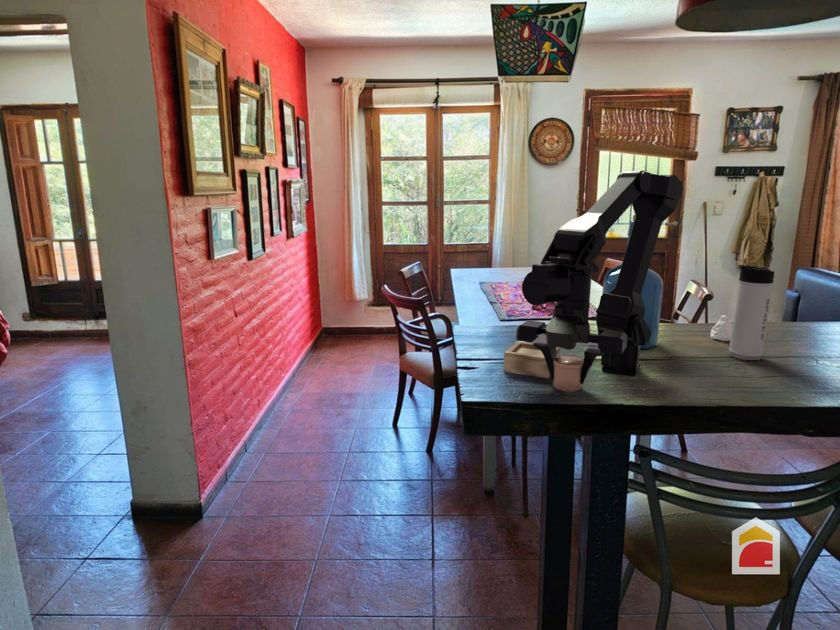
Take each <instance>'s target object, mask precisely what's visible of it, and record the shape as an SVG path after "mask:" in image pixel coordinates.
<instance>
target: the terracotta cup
mask: <svg viewBox="0 0 840 630" xmlns="http://www.w3.org/2000/svg"><path fill="white" fill-rule="evenodd" d="M583 362H584V359H582V358H579V357H574V356H565V355H564V356H562V355H561V356H559V357H556V358H554V362H553V363H554V379H552V382H553V385H552V386H553V388H554V389H555V390H559V391H562V392H568V393H569V392H570V393H571V392H572V393H573V392H578V391H580V390H582V384H581V373H582V368H583Z"/></svg>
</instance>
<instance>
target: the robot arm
mask: <svg viewBox="0 0 840 630" xmlns="http://www.w3.org/2000/svg"><path fill="white" fill-rule="evenodd" d="M683 192H684V185H683V182H682V181H681V180H680V178H679V176H677V175H676V174H655V173H651V172H648V171H645V170H625V171H623V172H620V173H619V174H618V175H617V177H616V180H615V181H614V182H613V184H612V185H611V186H610V187H609V188H608V189H607V190H606V191H605V192H604V193H603V194H602V195H601V196H600V197H599V199H598V200H597V201H596V202H595V203H594V204H593V205H592V206H591V207H590V208H589V209H588V210H587V212H585V213H584V214H582V215H581V216H579V217H576V218H573V219H570V220H569V221H568V222H566V223H564V225H562V226H561V227H559V228H558V229H557V231H556V232H555V234H554V236H553V239H552V240H551V243H550V245H549V246H548V248H547V250H546V252H545V254H544V256H543V257H542V260H541V262H540V263H534V264H532V266H531V271H530V272H528V273H527V274H526V275H525V276H524V279H523V281H522V282H521V291H522V295H523V297H524V299H525V300H526V302H528V303H529V304H530V305H532V306H542V305H547V304H553V303H555V305H554V310H553V315H552V317H551V319H550V321H549V322H548V325H546V322H545V321H538V320H529V319H528V320H526V321H524V322H523V323H522V324H520V325H518V327H517V328H516V332H515V333H516V334H515V335H516V336H515V340H516V341H520V342H527V343H533V342H534V343H533V346H534V347H537V348H539V349H540V350H541V352H542V353H543V355H544V358H545V360H546V363H547V367H548V370H549V373H550V379H551V380H554V363H553V362H554V358H556V350H557V347H560V349H564V350H567V351H570V350H574V349H575V348H576V345H577V343H579V344H587V348H586V349H585V351H584V352H583V357H584V358H583V361H584V362H583V368H582V373H581V386H582V385H584V383H585V382H586V379H587V377H588V375H589V373H590V370H591V368H592V366H593V364H594V363H595V361H596V358H597V357H600V365H601V371H602V372H606V373H607V372H609V373H614V374H620V375H621V374H622V375H627V376H636V375H637V374H638V372H639V369H640V367H641V364H640V353H641V349H640V346H645V345H646V344H647V343H649V341H650V337H651V334H652V332H651V330H650V329H649V327H648V325H647V324H646V322H645V320H644V314H645V306H644V303H643V299H642V296H641V292H642V289H643V285H644V282H645V279H646V275H647V272H648V269H650V264H651V262H652V258H653V255H654V251H655V249H656V244H657V240H658V237H659V235H660V231H661V228H662V225H663V223H664V222H665V221H666V220H667V219H668V218H669V217H670V216H671V215H672V214H673V213H674V212H675V211H676V209H677V206H678V204H679V201H680V199H681V198H682V196H683ZM631 206H632V209H633V213H634V215H635V216H636V218H635V222H634V225H633V228H632V232H631V235H630V238H629V242H628V241H627V243H628V245H627V244H626V245H627V246H626V249H625V252H624V256H623V259H622V262H621V264H622V266H621V269H620V272H619V276H618V279H617V282H616V286H615V288H614V289H613V290H612V291H611V292H610V293H609V294H607V293H603V292H602V293H603V294H601V296H600V299H599V304H598V307H597V308H596V311H595V313H596V314H595V323H596V324H595V325H596V329H597V333H591V326H590V322H589V312H590V311H589V310H590V306H591V305H590V304H591V302H590V301H591V288H592V287H591V285H592V276H593V274H592V273H598V272H599V271H600V267H599V266H598V265H597V264H595V262H594V260H595V259H596V258H598V256H599V254H600V252H601V251H602V249H604V246H605V245H606V242H607V241H606V240H607V235H606V234H607V233H608V232H609V230H610V228H611V227H612V226H613V225H614V224H616V222H617V221H618V220H619V219H620V218H621V217H622V215H624V213H625V212H626V211H627V210H628V209H629V207H631Z"/></svg>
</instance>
